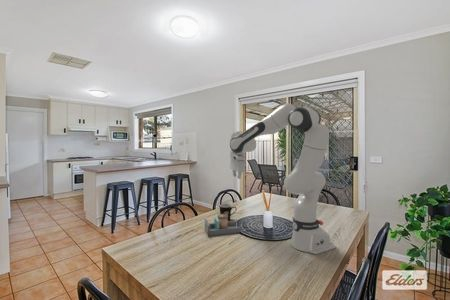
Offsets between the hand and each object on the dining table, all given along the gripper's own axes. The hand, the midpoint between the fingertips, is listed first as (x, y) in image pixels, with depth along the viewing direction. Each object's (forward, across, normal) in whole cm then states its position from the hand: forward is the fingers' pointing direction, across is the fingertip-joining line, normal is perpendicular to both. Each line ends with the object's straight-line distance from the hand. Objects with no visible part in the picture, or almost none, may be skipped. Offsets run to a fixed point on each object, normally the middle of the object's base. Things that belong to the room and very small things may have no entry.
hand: (236, 177), depth 144 cm
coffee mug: (+31, -9, -4) cm, 33 cm away
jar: (+31, +8, -12) cm, 34 cm away
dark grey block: (+31, +8, -12) cm, 34 cm away
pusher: (+31, +8, -15) cm, 35 cm away
